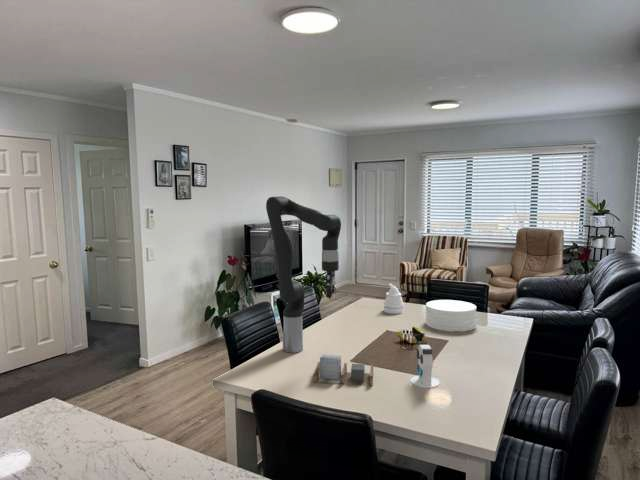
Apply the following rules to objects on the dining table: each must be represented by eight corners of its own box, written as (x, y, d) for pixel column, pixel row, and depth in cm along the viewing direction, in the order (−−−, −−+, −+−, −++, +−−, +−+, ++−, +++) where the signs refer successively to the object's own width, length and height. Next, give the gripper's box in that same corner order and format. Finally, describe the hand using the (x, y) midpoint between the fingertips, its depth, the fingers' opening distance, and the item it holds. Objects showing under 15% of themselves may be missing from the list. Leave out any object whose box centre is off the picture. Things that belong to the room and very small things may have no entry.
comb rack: (313, 385, 170) (313, 373, 169) (318, 373, 182) (318, 361, 181) (372, 388, 166) (372, 376, 166) (373, 376, 178) (373, 364, 178)
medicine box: (341, 376, 176) (341, 355, 175) (338, 380, 172) (338, 359, 171) (323, 374, 178) (322, 353, 177) (319, 378, 174) (319, 357, 173)
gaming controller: (395, 341, 223) (410, 346, 215) (395, 330, 222) (410, 335, 214) (414, 335, 232) (429, 340, 224) (414, 325, 231) (429, 329, 223)
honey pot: (383, 313, 277) (383, 285, 275) (384, 308, 289) (384, 282, 288) (404, 314, 275) (404, 286, 273) (403, 309, 287) (403, 282, 286)
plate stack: (480, 322, 255) (481, 303, 254) (469, 334, 232) (469, 313, 231) (434, 315, 270) (434, 297, 269) (418, 327, 247) (419, 307, 246)
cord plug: (351, 381, 171) (351, 369, 170) (352, 372, 180) (352, 360, 179) (363, 382, 170) (363, 370, 169) (364, 372, 179) (364, 361, 179)
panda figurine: (407, 375, 178) (408, 340, 177) (435, 375, 178) (436, 340, 177) (413, 388, 166) (413, 350, 165) (442, 388, 166) (443, 350, 165)
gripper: (324, 257, 199) (324, 292, 201) (319, 261, 185) (319, 298, 187) (340, 257, 198) (340, 292, 200) (336, 262, 184) (337, 299, 186)
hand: (330, 295), depth 193 cm, fingers open, 8 cm apart
